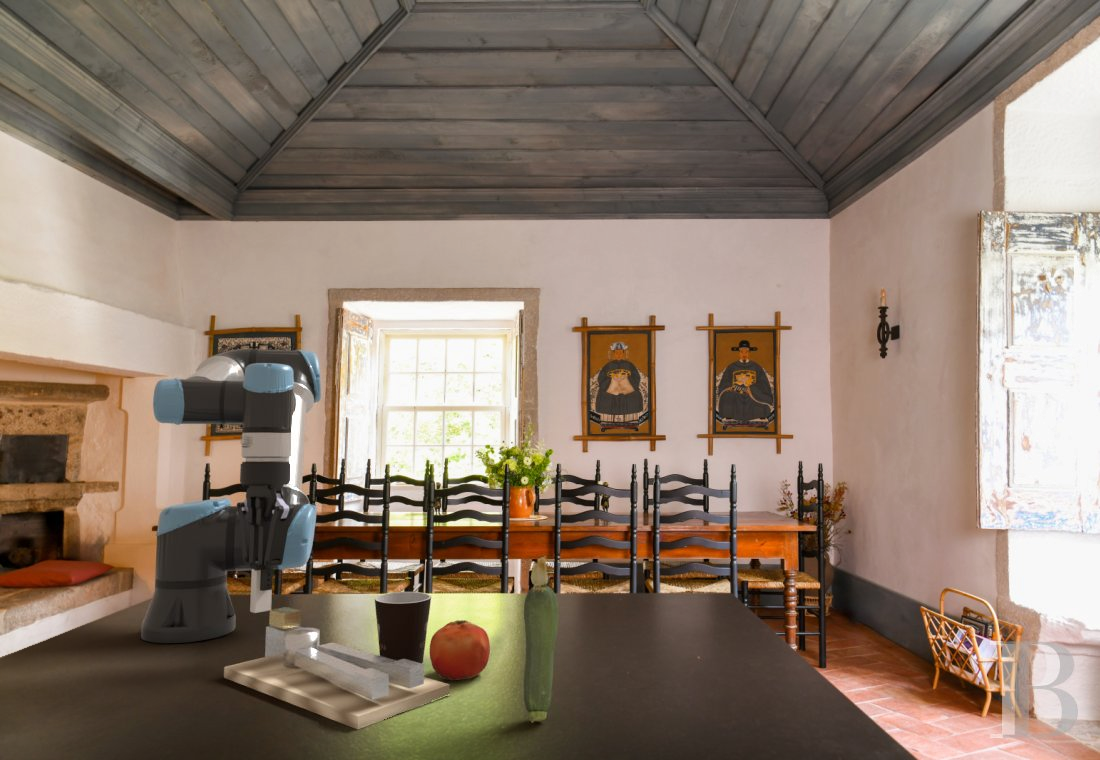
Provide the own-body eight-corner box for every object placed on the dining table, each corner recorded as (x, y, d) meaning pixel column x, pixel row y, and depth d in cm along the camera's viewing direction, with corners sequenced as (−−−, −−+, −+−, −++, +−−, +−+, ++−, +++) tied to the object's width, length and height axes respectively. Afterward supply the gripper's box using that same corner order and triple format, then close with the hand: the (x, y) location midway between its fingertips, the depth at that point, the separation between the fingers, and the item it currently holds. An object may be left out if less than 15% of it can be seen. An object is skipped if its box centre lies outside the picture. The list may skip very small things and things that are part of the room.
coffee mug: (417, 674, 109) (419, 604, 110) (363, 670, 111) (365, 602, 111) (444, 652, 120) (445, 589, 121) (394, 649, 122) (396, 587, 123)
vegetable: (522, 713, 93) (523, 552, 95) (556, 713, 93) (557, 552, 95) (524, 727, 89) (525, 557, 90) (560, 726, 89) (560, 557, 91)
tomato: (440, 690, 102) (441, 631, 102) (419, 672, 110) (420, 617, 111) (502, 680, 106) (502, 623, 107) (477, 663, 114) (478, 610, 115)
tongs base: (259, 658, 111) (260, 627, 112) (291, 650, 115) (291, 621, 116) (391, 702, 92) (392, 665, 93) (423, 691, 97) (424, 656, 97)
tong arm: (294, 665, 105) (295, 647, 105) (310, 661, 106) (310, 643, 106) (371, 699, 91) (372, 678, 91) (388, 695, 92) (388, 674, 93)
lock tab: (269, 624, 112) (269, 610, 112) (285, 621, 114) (286, 606, 115) (284, 628, 110) (284, 613, 110) (300, 625, 112) (301, 610, 112)
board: (223, 677, 107) (224, 666, 107) (314, 654, 119) (314, 645, 119) (357, 729, 88) (358, 716, 88) (449, 695, 99) (449, 684, 100)
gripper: (222, 459, 119) (216, 609, 117) (266, 460, 111) (260, 621, 109) (265, 459, 125) (260, 601, 123) (310, 460, 117) (305, 612, 115)
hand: (260, 610), depth 116 cm, fingers closed
